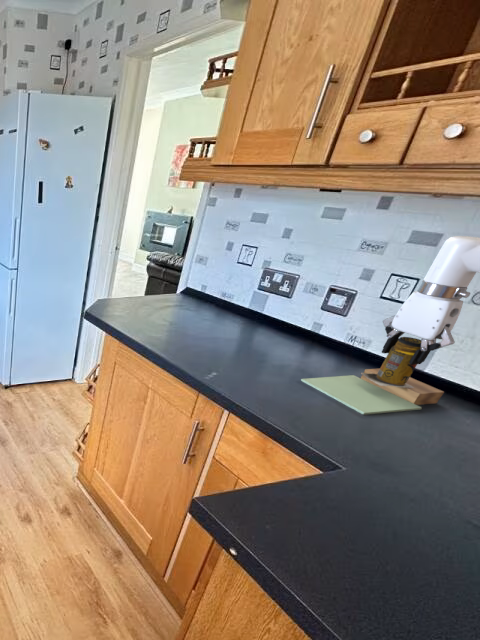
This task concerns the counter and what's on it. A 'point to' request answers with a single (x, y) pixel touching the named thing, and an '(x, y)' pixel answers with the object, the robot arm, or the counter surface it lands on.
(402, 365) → the condiment
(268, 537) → the counter surface
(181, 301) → the counter surface
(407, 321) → the robot arm
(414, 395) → the step
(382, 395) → the mat
